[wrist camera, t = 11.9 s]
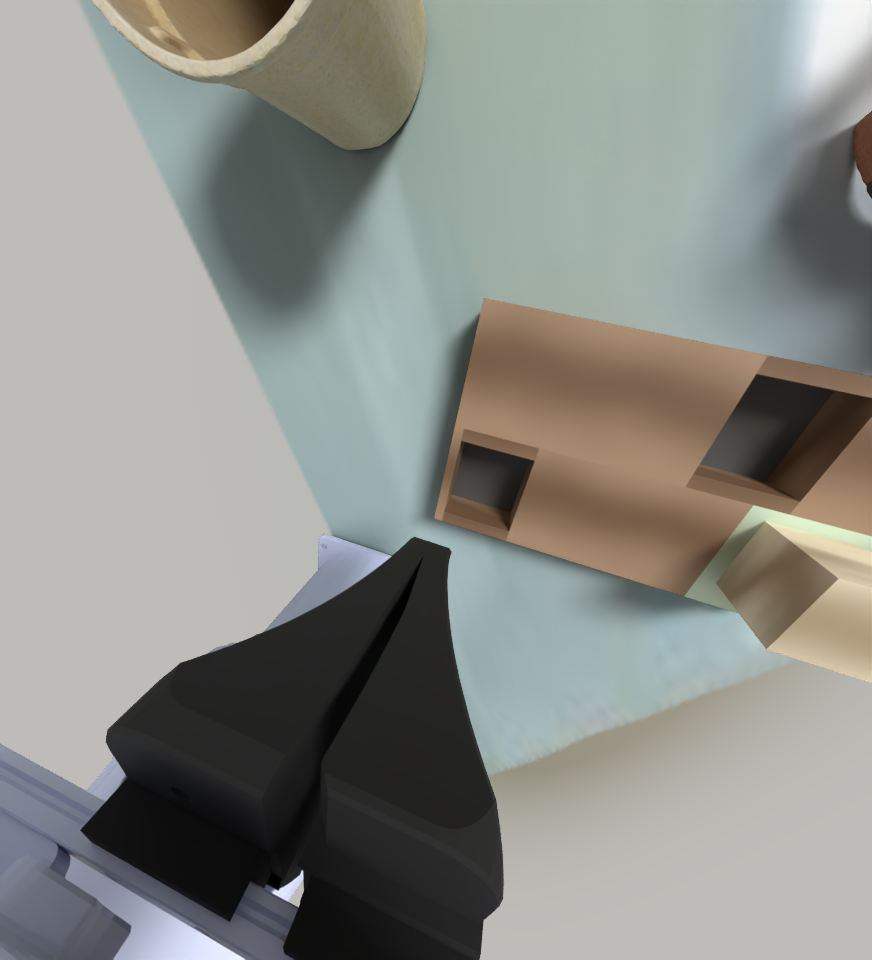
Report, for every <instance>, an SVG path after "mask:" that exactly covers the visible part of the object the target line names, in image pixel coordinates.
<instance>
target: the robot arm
mask: <svg viewBox="0 0 872 960" xmlns="http://www.w3.org/2000/svg"><path fill="white" fill-rule="evenodd" d="M450 555H451V551H450V549H449V548H447V547H444V546H441V545H438V544H435V543H432V542H429V541H425V540H422V539H419V538H416V537H414V538H411V539H410V540H409V541H408V542H407V543H406V544H405V545H404V546H403V547H402V548H401V549H400V550H398V551H397V552H396V553H395V554H394V555H393V556H390V555H387V554H384V553H381V552H378V551H375V550H372V549H370V548H367V547H364V546H361V545H358V544H355V543H352V542H349V541H346V540H343V539H340V538H337V537H334V536H331V535H328V534H323V535H322V536H321V537H320V538H319V557H318V571H317V572H316V573H315V575H314V576H313V577H312V578H311V579H310V580H309V581H308V582H307V584H306V585H305V586H304V587H303V588H302V589H301V590H300V592H299V593H298V594H297V595H296V596H295V597H294V598H293V599H292V601H291V602H290V603H289V604H288V605H287V606H286V607H285V608H284V610H283V611H282V612H281V613H280V614H279V615H278V616H277V617H276V619H275V620H274V621H273V622H272V623H271V624H270V625H269V626H268V628H267V629H266V630H265V631H264V632H263V633H261V634H256V635H255V636H253V637H251V638H249V639H247V640H244V641H241V642H239V643H230V644H229V645H227V646H221V647H217V648H215V649H213V650H212V651H211V652H209V653H208V654H205V655H202V656H200V657H197V658H194V659H191V660H188V661H185V662H182V663H180V664H179V665H178V666H177V667H175V668H174V669H173V670H172V671H171V672H169V673H168V674H167V675H165V676H164V677H163V678H162V679H161V680H159V681H158V682H157V683H156V684H155V685H154V686H153V687H152V688H151V689H150V690H149V691H148V692H147V693H146V694H144V695H143V696H142V697H141V698H140V699H139V700H138V701H137V702H136V703H135V704H134V705H133V706H132V707H131V708H130V709H129V710H128V711H127V712H126V713H124V714H123V716H121V717H120V718H119V719H118V720H117V721H116V722H115V723H114V724H113V725H112V726H111V727H110V728H109V729H108V731H107V736H106V743H107V745H108V747H109V749H110V751H111V753H112V754H113V758H112V761H111V762H110V764H109V765H108V766H107V767H106V768H105V770H104V771H103V772H102V773H101V774H100V775H99V776H98V778H97V779H96V780H95V781H94V782H93V783H92V785H91V786H90V787H89V788H88V789H87V790H86V791H85V790H83V789H82V788H80V787H78V786H76V785H74V784H73V783H71V782H69V781H67V780H65V779H63V778H62V777H60V776H58V775H56V774H54V773H52V772H51V771H49V770H47V769H45V768H43V767H41V766H40V765H38V764H36V763H34V762H32V761H30V760H29V759H27V758H25V757H23V756H22V755H20V754H18V753H16V752H14V751H12V750H10V749H9V748H7V747H5V746H3V745H1V744H0V960H479V959H480V954H481V943H482V931H483V920H484V919H485V918H487V917H488V916H489V915H490V914H491V913H492V912H494V911H495V910H496V909H497V908H498V907H499V906H500V904H501V902H502V900H503V885H504V884H503V883H504V882H503V881H504V880H503V854H502V843H501V833H500V825H499V818H498V810H497V803H496V798H495V796H494V792H493V789H492V787H491V784H490V781H489V778H488V775H487V772H486V769H485V766H484V763H483V760H482V757H481V754H480V751H479V748H478V745H477V741H476V738H475V735H474V731H473V728H472V725H471V722H470V718H469V714H468V710H467V706H466V703H465V699H464V695H463V691H462V687H461V683H460V679H459V674H458V669H457V665H456V660H455V654H454V649H453V643H452V636H451V629H450V620H449V610H448V589H447V578H448V564H449V559H450ZM303 879H304V893H303V895H302V898H301V901H300V905H299V908H298V907H297V906H295V905H293V904H291V903H289V902H288V901H289V899H290V898H291V896H292V895H293V893H294V892H295V890H296V889H297V887H298V886H299V885H300V883H301V882H302V880H303Z"/></svg>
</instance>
